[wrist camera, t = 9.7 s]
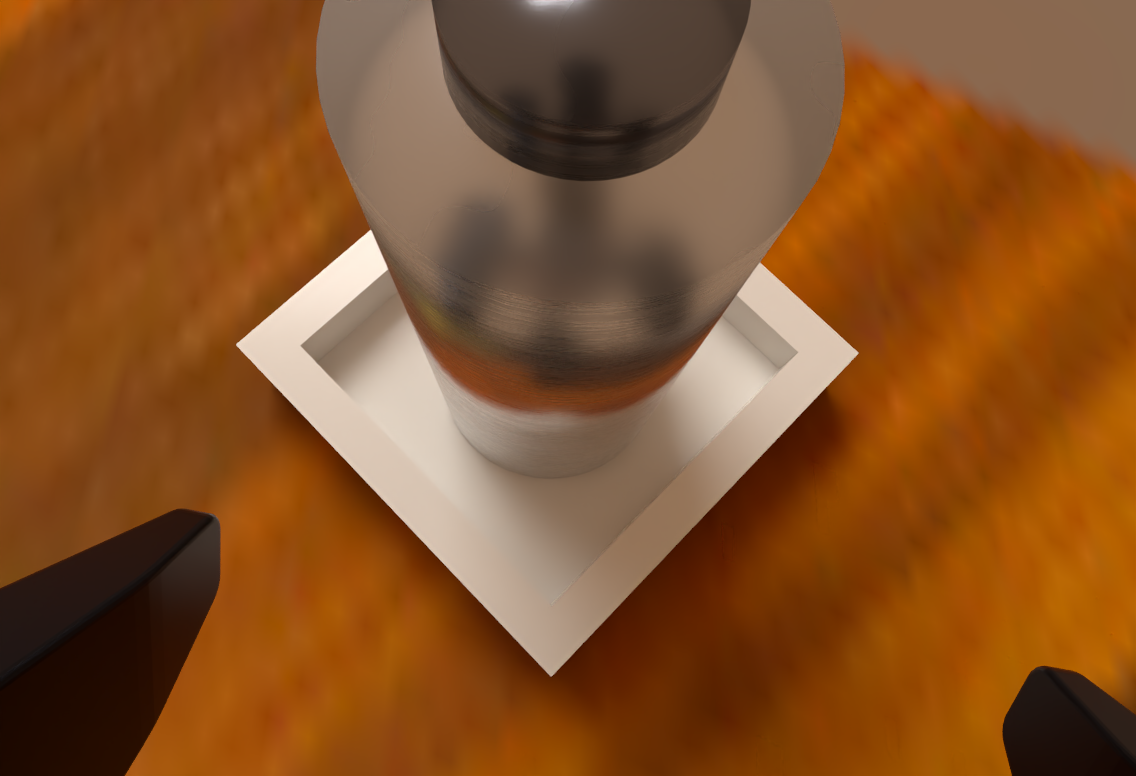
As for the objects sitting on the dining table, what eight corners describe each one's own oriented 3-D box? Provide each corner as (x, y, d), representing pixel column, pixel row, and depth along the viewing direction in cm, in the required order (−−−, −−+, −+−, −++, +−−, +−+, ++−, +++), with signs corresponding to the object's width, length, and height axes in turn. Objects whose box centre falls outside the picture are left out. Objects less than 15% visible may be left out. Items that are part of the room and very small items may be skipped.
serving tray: (548, 666, 20) (551, 677, 17) (269, 373, 21) (235, 344, 19) (821, 379, 22) (858, 352, 19) (550, 128, 23) (554, 74, 21)
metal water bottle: (505, 518, 19) (461, 372, 6) (405, 330, 20) (187, -134, 7) (695, 414, 20) (1003, 94, 7) (590, 238, 21) (693, -329, 8)
